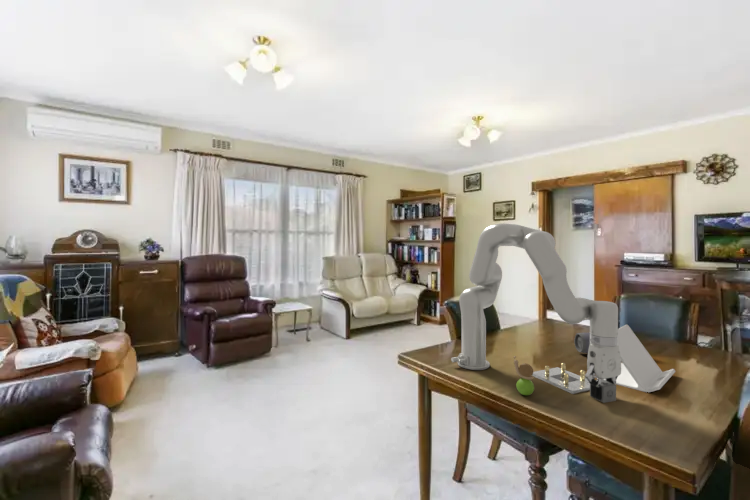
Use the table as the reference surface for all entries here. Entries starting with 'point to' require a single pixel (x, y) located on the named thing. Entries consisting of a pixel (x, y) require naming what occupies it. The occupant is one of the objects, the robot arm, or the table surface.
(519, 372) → the snail figurine
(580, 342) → the bluetooth speaker
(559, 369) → the chassis plate
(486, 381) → the table surface
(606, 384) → the dice cube
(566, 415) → the table surface
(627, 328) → the tablet stand
